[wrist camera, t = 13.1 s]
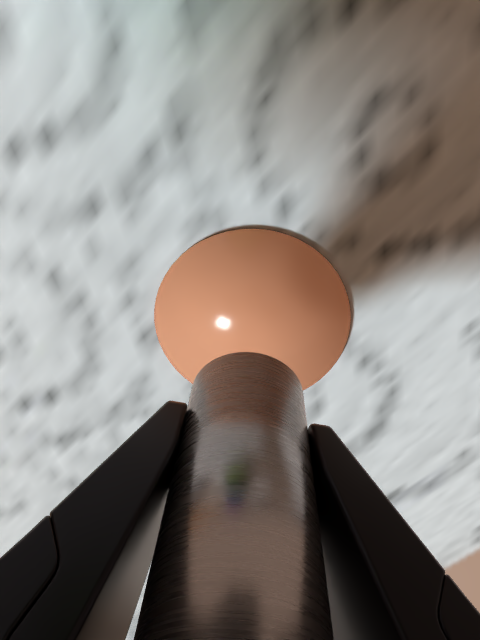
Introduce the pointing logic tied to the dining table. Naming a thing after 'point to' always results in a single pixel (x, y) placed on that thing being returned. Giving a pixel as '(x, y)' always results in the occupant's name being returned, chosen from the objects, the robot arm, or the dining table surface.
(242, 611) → the steel peg
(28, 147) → the dining table surface
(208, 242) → the marker disc
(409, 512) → the dining table surface
